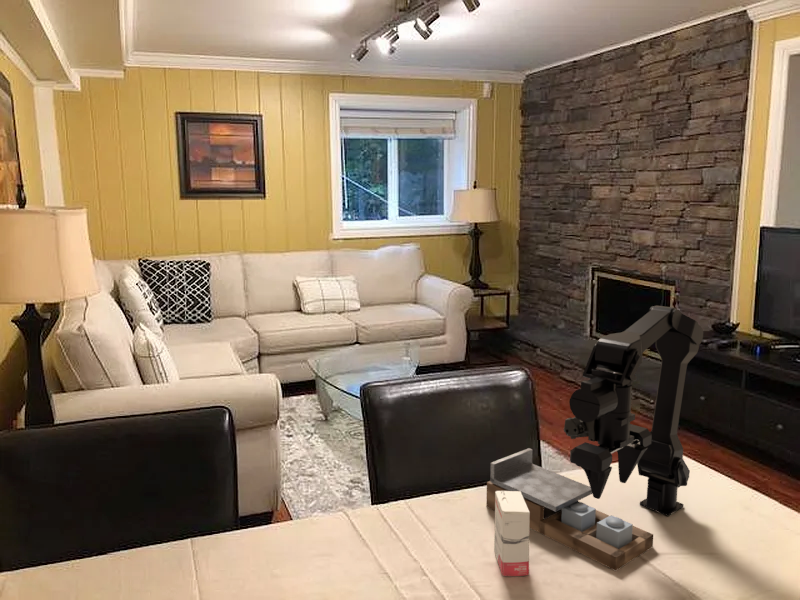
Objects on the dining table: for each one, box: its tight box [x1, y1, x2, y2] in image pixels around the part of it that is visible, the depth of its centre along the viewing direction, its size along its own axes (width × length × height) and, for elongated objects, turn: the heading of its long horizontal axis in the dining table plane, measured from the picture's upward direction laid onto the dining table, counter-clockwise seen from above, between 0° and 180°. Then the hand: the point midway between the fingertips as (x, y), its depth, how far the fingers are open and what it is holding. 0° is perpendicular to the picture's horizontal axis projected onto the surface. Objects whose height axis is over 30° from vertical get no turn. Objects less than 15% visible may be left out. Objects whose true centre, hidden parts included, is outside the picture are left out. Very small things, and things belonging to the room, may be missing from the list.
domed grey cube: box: [596, 515, 634, 549], centre depth 120 cm, size 4×4×6 cm
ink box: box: [493, 491, 530, 577], centre depth 115 cm, size 9×5×12 cm, turn 1°
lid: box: [489, 447, 593, 513], centre depth 132 cm, size 12×17×4 cm
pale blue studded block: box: [561, 500, 597, 532], centre depth 126 cm, size 4×4×6 cm
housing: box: [485, 480, 654, 571], centre depth 129 cm, size 12×31×5 cm, turn 39°
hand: (610, 490), depth 120 cm, fingers open, 9 cm apart
